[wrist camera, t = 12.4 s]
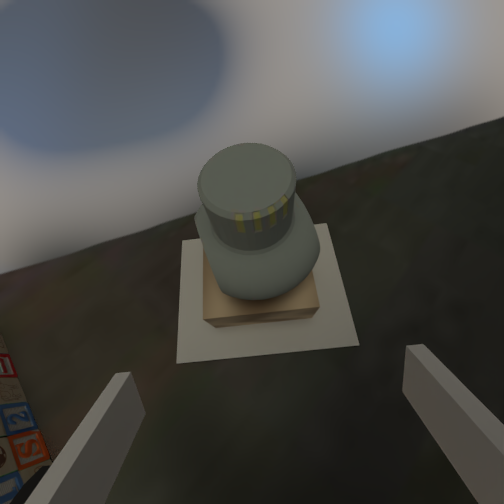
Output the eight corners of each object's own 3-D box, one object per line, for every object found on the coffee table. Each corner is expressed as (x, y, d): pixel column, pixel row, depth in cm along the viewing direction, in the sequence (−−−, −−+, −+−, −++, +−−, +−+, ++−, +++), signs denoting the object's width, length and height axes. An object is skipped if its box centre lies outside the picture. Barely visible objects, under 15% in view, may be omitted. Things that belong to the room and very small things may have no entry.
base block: (292, 220, 30) (296, 194, 25) (311, 317, 24) (320, 306, 20) (213, 229, 30) (203, 205, 26) (215, 328, 25) (202, 319, 20)
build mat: (325, 225, 29) (326, 223, 29) (358, 345, 23) (359, 345, 23) (183, 242, 30) (182, 240, 30) (178, 363, 24) (176, 363, 24)
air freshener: (324, 285, 21) (362, 222, 12) (235, 322, 20) (204, 285, 11) (273, 195, 25) (273, 101, 17) (200, 222, 25) (158, 139, 16)
